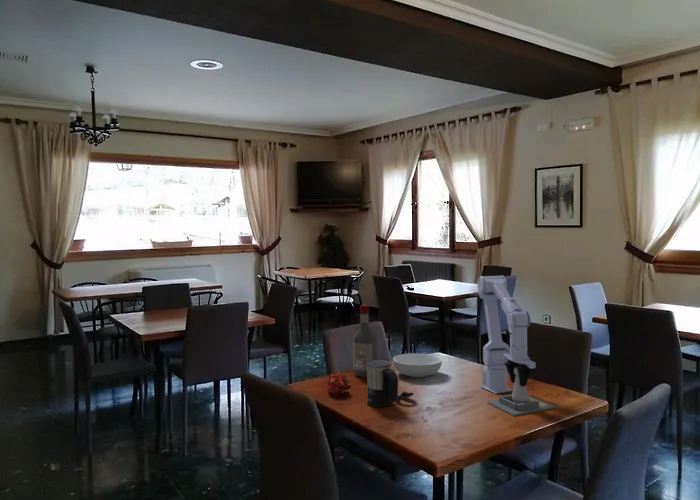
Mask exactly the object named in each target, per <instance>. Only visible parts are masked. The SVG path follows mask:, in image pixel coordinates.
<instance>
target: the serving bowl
mask: <svg viewBox="0 0 700 500" xmlns="http://www.w3.org/2000/svg"><path fill="white" fill-rule="evenodd" d="M392 361H393V367H394V369H396V371H397V372H398V373H400V374H402V375H405V376H408V377H411V378H425V377H429V376H433V375H434V374H436V373H438V371H439V370H440V369H441V367H442V363H443V360H442V358H441V357H439V356H436V355H433V354H427V353H403V354H398V355H396V356H393V358H392Z"/></svg>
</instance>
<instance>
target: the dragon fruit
mask: <svg viewBox="0 0 700 500" xmlns="http://www.w3.org/2000/svg"><path fill="white" fill-rule="evenodd" d="M326 380H327V382H326V384H327V385H326V386H327V392H329V393H332V394H333V396H336V395H337V396H339V395H340V394H344V393H345V392H346V391H347V390H350V389H351V388H352V385H350V384H349V380H348V379H347V375H346V374H342V372H339V371H337V372H336V371H335V372H332V373H331V374H330V375H329V376H328V377H327V379H326ZM338 394H339V395H338Z"/></svg>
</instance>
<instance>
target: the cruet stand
mask: <svg viewBox="0 0 700 500" xmlns="http://www.w3.org/2000/svg"><path fill="white" fill-rule="evenodd" d="M487 404H488V405H490V406H492V407H493V408H496V409H498V410H500V411H502V412H503V413H506V414H508V415H511V416H513V417H518V416H522V415H527V414H528V415H529V414H533V413H538V412H543V411H549V410H552V409H553V410H554V409H556V408H557V407H556V406H555V405H553V404H551V403H548V402H546V401H544V400H541V399H540V398H539V399H538V398H536V397H534V396H532V395H529V401H528V402H526V403H520V404H516V403H514V402H513V400H512V394H507V395H499V396H498V399H496V400H491V401H487Z"/></svg>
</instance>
